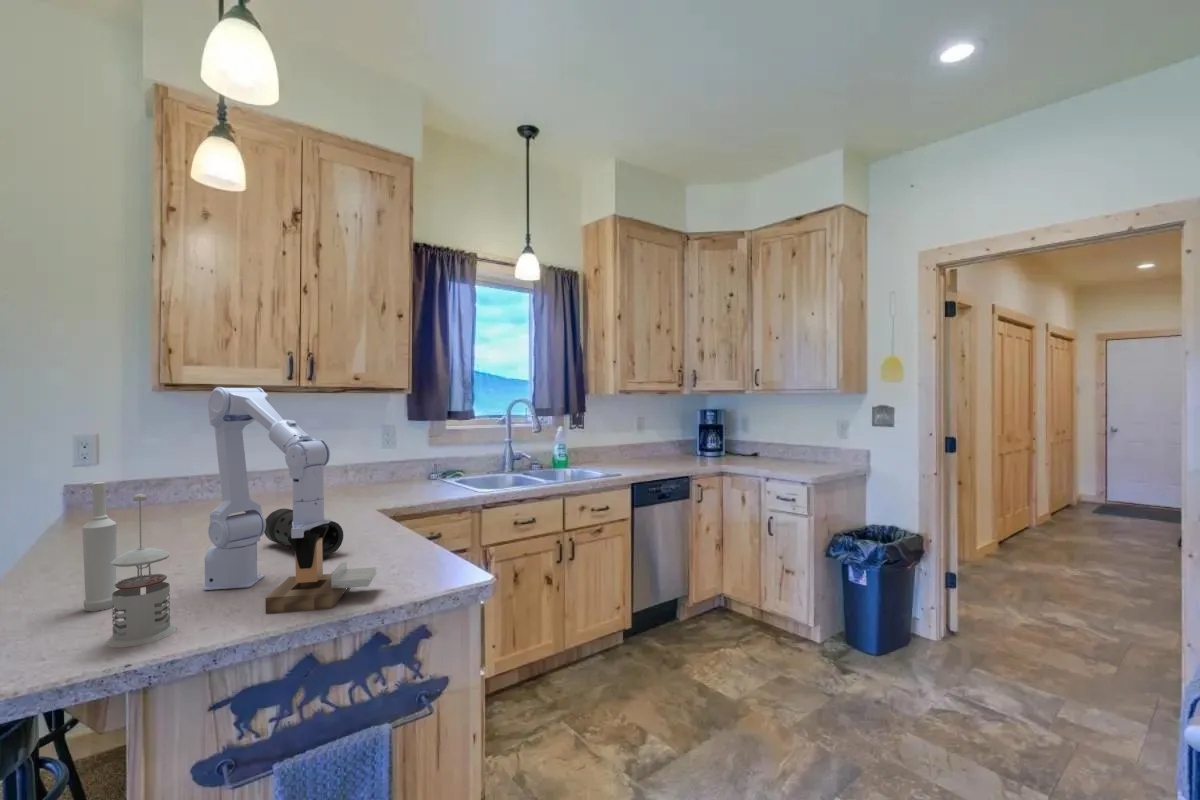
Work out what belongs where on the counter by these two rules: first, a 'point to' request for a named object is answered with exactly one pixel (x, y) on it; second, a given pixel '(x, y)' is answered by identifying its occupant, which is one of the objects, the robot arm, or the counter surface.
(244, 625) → the counter surface
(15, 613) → the counter surface
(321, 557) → the tan cardboard box
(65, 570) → the counter surface
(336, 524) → the muzzle brake
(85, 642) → the counter surface
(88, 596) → the bottle
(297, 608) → the socket plate
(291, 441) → the robot arm
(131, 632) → the french press
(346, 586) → the grey stepped block
